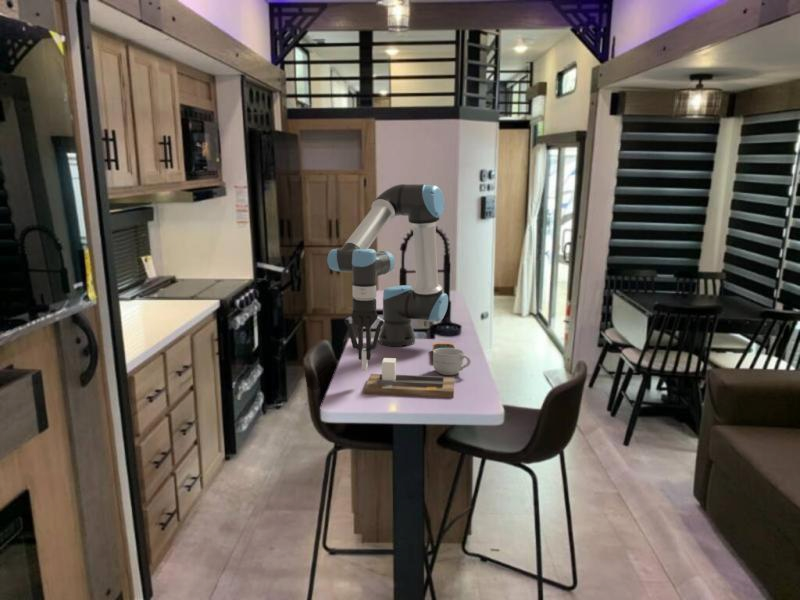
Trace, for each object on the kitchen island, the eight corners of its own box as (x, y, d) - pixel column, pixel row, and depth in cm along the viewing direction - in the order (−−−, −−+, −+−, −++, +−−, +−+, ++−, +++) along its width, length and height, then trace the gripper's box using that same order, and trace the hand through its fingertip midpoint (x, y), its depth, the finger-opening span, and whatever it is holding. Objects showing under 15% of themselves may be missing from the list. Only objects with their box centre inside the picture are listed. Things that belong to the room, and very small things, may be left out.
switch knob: (383, 377, 193) (383, 357, 192) (395, 378, 193) (396, 358, 191) (382, 382, 189) (382, 362, 187) (394, 382, 188) (394, 362, 187)
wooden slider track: (370, 379, 198) (370, 370, 198) (454, 383, 196) (454, 373, 195) (364, 393, 186) (364, 383, 185) (453, 397, 183) (453, 387, 182)
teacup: (426, 372, 206) (426, 350, 204) (446, 365, 213) (447, 344, 212) (456, 382, 196) (457, 359, 195) (476, 375, 204) (477, 352, 202)
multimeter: (454, 350, 232) (454, 342, 232) (457, 365, 215) (457, 356, 214) (432, 350, 233) (432, 342, 232) (433, 364, 215) (433, 355, 214)
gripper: (341, 299, 183) (342, 372, 188) (383, 301, 181) (383, 373, 186) (346, 295, 190) (347, 364, 195) (386, 296, 189) (386, 366, 194)
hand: (364, 368), depth 191 cm, fingers closed
